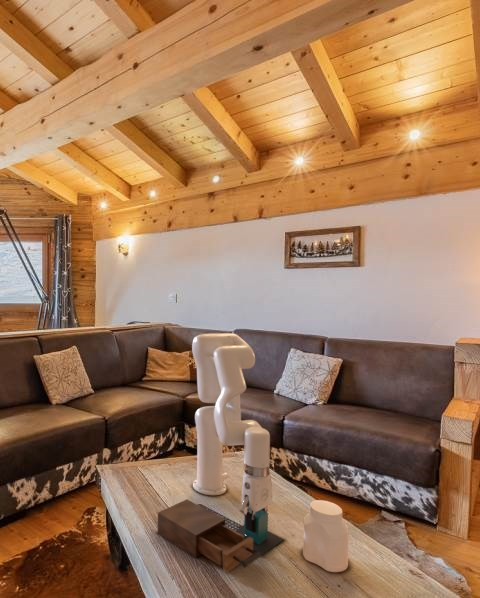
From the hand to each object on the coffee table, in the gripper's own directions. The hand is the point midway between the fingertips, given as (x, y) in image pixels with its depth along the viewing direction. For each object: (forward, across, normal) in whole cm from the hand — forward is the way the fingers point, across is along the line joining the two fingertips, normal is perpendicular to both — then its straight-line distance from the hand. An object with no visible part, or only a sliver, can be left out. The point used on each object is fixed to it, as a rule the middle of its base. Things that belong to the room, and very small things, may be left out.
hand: (256, 526), depth 131 cm
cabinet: (+4, -15, +13) cm, 20 cm away
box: (+3, 0, 0) cm, 3 cm away
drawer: (+3, -15, 0) cm, 15 cm away
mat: (+4, 0, 0) cm, 4 cm away
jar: (+4, +7, -18) cm, 20 cm away
